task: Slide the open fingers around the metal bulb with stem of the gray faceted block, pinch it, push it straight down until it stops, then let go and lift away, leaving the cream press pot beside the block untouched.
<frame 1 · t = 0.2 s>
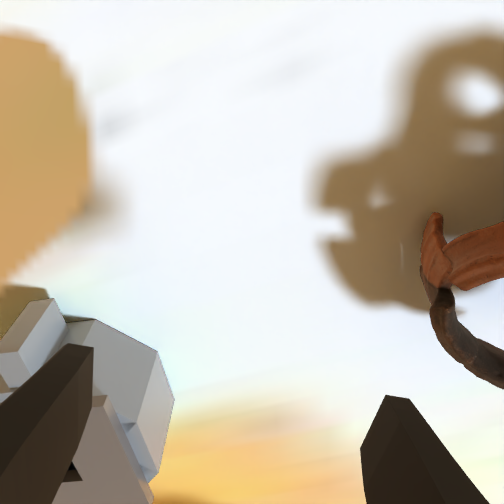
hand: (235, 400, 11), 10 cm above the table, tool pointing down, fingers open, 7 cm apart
gray faceted block: (90, 384, 25), on the table
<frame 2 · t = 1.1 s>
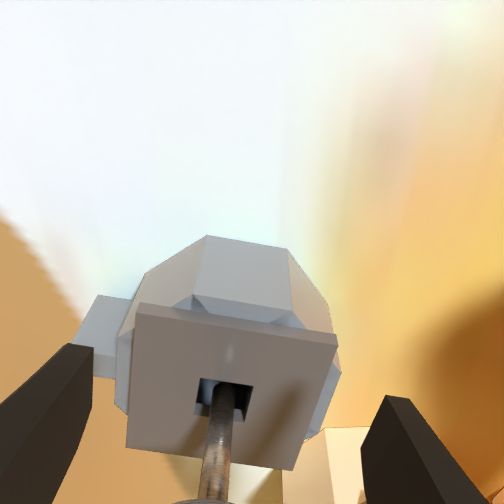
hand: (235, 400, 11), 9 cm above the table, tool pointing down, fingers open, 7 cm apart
cream press pot: (354, 475, 27), on the table
gray faceted block: (231, 319, 22), on the table
metal bulb with stem: (215, 474, 15), point 8 cm above the table, slide at 0.0 cm
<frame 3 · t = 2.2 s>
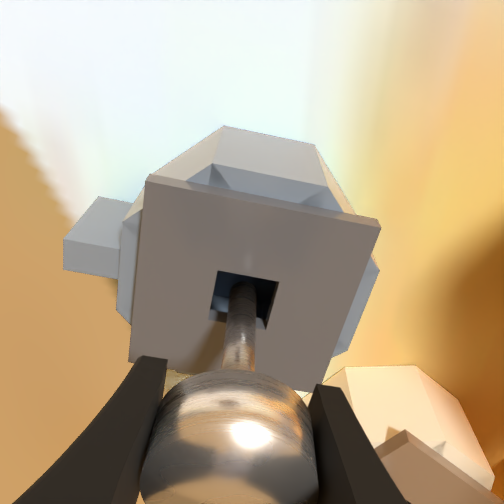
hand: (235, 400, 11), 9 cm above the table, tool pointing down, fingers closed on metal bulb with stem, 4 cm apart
cream press pot: (373, 424, 25), on the table
gray faceted block: (247, 232, 19), on the table
metal bulb with stem: (238, 367, 12), point 8 cm above the table, slide at 0.0 cm, touching gripper
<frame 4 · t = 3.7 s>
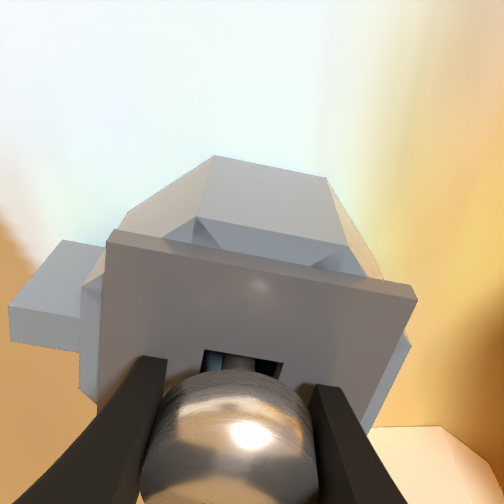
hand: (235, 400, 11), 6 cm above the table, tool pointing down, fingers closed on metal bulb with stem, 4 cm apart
cream press pot: (390, 487, 22), on the table
gray faceted block: (244, 279, 16), on the table
metal bulb with stem: (238, 367, 12), point 4 cm above the table, slide at 3.7 cm, touching gripper
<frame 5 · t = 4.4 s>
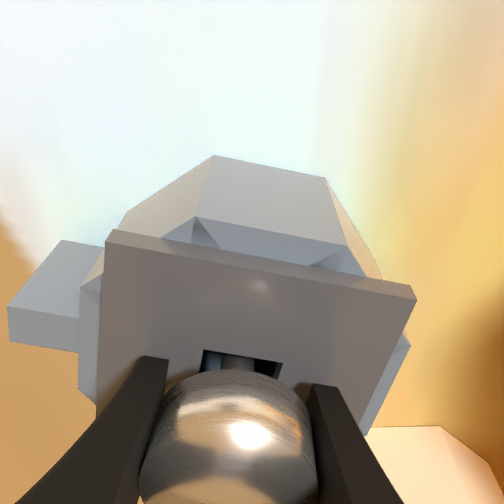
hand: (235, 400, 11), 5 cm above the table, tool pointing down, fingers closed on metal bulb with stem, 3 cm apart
cream press pot: (389, 487, 22), on the table
gray faceted block: (243, 279, 16), on the table
metal bulb with stem: (237, 367, 12), point 4 cm above the table, slide at 3.7 cm, touching gripper
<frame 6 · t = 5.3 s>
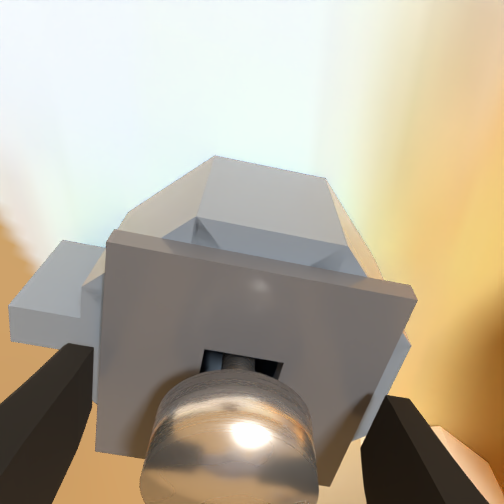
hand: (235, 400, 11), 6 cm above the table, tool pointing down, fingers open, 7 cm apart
cream press pot: (390, 487, 22), on the table
gray faceted block: (244, 279, 16), on the table
metal bulb with stem: (238, 367, 12), point 4 cm above the table, slide at 3.7 cm
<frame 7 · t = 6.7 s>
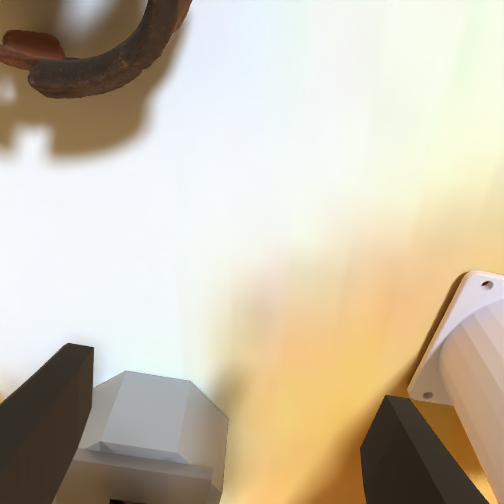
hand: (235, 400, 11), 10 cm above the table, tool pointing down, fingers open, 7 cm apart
gray faceted block: (151, 428, 26), on the table
metal bulb with stem: (132, 501, 23), point 4 cm above the table, slide at 3.7 cm
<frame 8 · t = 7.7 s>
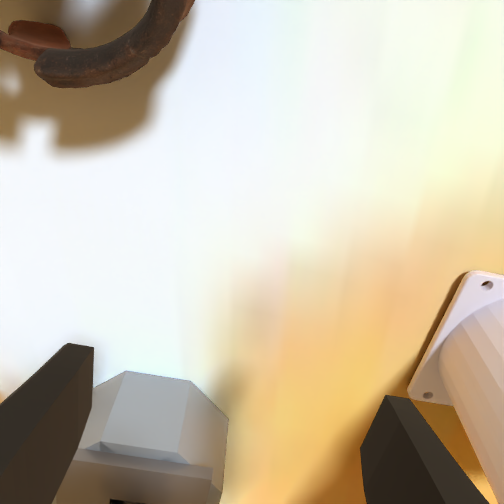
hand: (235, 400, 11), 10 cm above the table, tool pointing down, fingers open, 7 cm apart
gray faceted block: (151, 428, 26), on the table
metal bulb with stem: (132, 501, 23), point 4 cm above the table, slide at 3.7 cm
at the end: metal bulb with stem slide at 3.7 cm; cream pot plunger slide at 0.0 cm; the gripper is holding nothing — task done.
